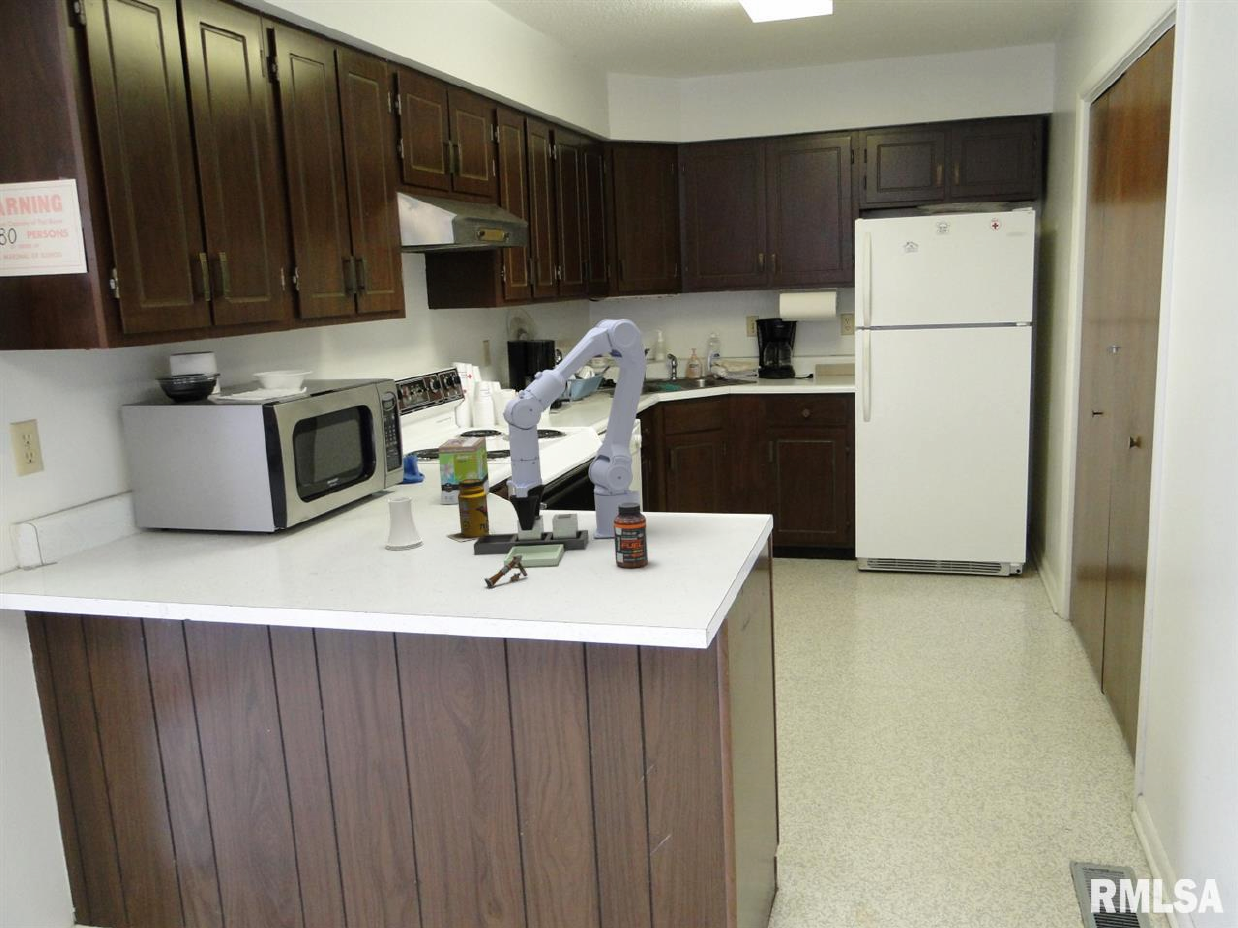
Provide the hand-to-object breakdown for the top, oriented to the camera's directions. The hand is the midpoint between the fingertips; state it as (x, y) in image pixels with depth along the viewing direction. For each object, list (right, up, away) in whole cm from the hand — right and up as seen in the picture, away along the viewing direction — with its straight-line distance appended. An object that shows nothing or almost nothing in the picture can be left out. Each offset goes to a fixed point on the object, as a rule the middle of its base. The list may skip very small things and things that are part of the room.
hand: (530, 525), depth 198 cm
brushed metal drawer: (+7, -4, 0) cm, 8 cm away
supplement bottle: (+20, -6, -16) cm, 27 cm away
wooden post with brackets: (-2, -9, -23) cm, 25 cm away
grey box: (0, -4, +1) cm, 5 cm away
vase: (-27, -5, +9) cm, 29 cm away
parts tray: (+2, -6, -9) cm, 11 cm away
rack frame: (0, -4, +1) cm, 4 cm away
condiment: (-14, -3, +14) cm, 20 cm away
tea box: (-21, +3, +55) cm, 59 cm away
